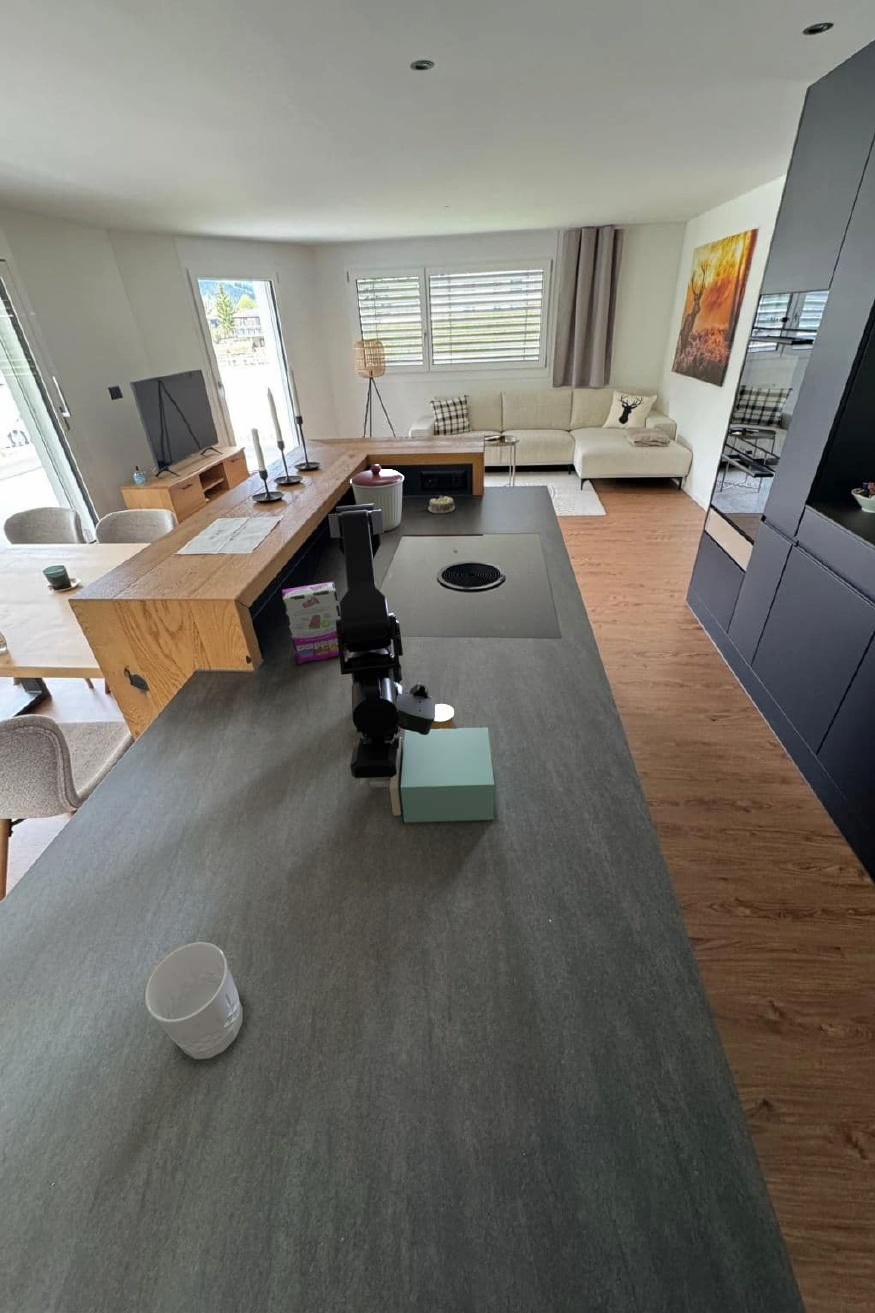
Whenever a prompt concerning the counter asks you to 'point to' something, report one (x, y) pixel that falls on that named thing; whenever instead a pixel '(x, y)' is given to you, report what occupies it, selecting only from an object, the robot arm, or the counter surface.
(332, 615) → the candy bar box
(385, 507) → the canister
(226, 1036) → the white cup
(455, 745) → the pale green block
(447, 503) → the cake
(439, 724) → the coffee pod
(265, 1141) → the counter surface
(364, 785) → the drawer
